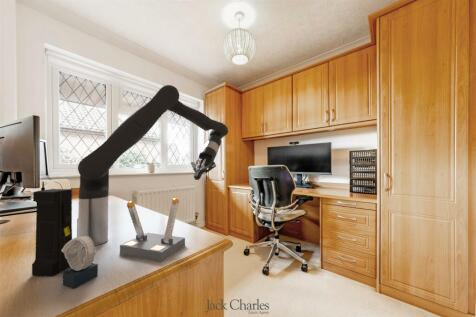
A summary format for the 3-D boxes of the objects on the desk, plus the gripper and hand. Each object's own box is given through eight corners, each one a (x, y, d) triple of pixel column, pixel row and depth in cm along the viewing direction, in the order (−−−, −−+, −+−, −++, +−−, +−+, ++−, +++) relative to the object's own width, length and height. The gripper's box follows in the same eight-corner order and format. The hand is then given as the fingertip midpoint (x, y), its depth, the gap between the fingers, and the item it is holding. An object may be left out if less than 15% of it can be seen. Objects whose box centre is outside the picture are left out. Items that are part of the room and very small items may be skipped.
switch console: (119, 254, 63) (119, 240, 64) (147, 240, 75) (147, 228, 75) (161, 262, 58) (161, 247, 58) (185, 246, 69) (185, 233, 69)
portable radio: (78, 265, 57) (79, 180, 57) (56, 277, 51) (58, 182, 51) (54, 264, 57) (55, 180, 58) (30, 276, 51) (32, 182, 52)
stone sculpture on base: (82, 271, 53) (82, 231, 53) (102, 277, 50) (102, 235, 51) (57, 283, 48) (58, 239, 48) (78, 290, 45) (78, 243, 45)
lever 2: (161, 241, 64) (171, 197, 69) (166, 240, 66) (175, 198, 71) (167, 241, 63) (177, 197, 68) (172, 241, 65) (180, 199, 70)
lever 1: (136, 239, 68) (124, 203, 63) (141, 234, 70) (130, 199, 65) (141, 240, 67) (129, 203, 63) (146, 235, 69) (135, 200, 65)
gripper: (194, 146, 95) (179, 172, 83) (219, 145, 90) (206, 173, 78) (200, 157, 99) (186, 183, 87) (223, 157, 95) (212, 184, 83)
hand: (196, 178), depth 83 cm, fingers closed
